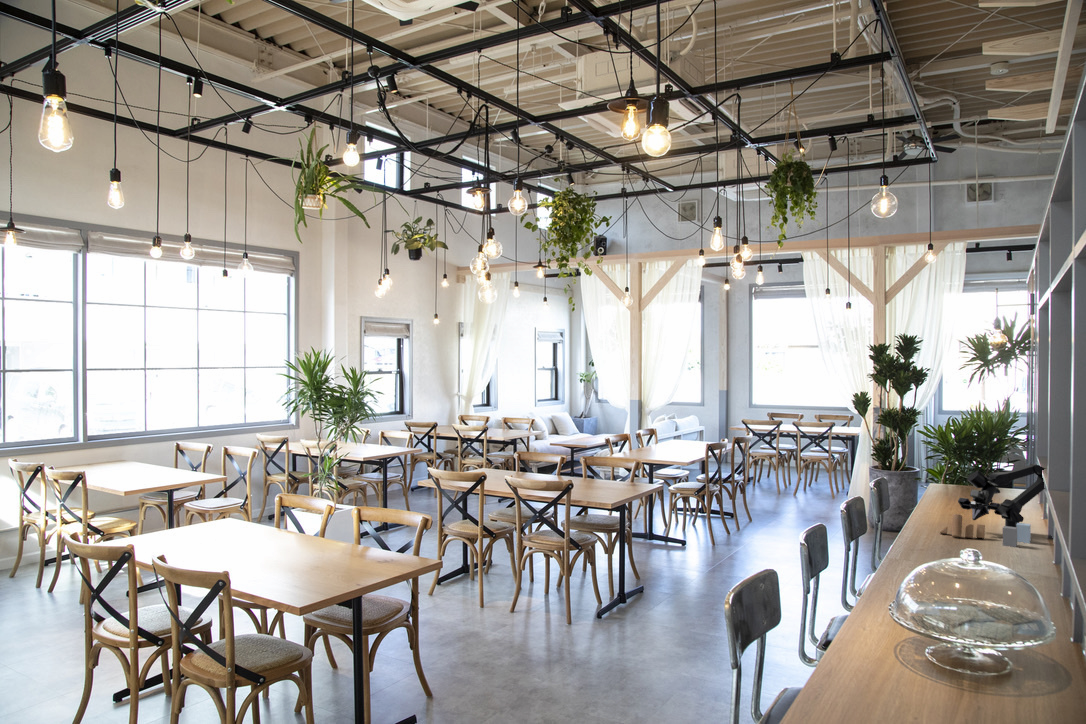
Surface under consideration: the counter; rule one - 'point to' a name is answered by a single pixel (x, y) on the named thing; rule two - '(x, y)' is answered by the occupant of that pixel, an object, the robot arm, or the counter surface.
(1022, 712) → the counter surface
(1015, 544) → the gray rectangular block
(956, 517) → the wooden block set
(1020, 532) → the slate blue block
